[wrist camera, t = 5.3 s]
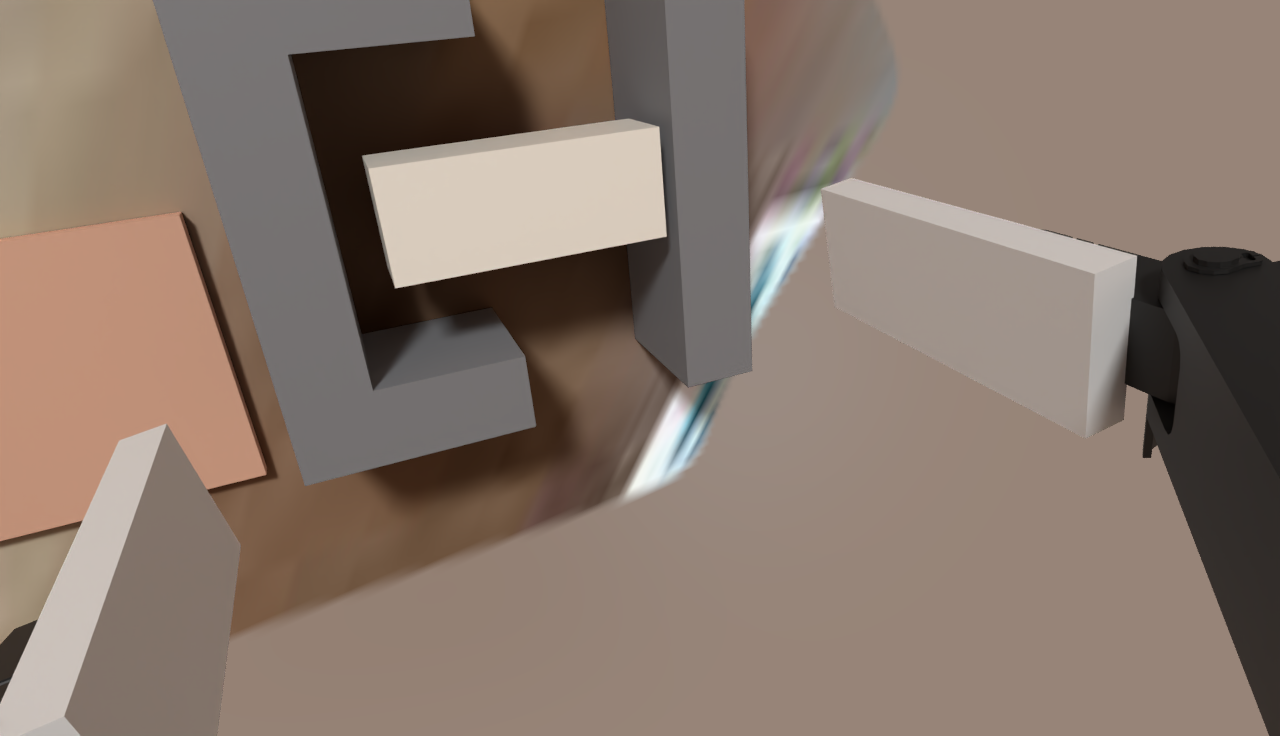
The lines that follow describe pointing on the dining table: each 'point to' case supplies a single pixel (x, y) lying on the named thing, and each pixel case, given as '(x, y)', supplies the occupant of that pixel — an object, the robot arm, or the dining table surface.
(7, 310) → the terracotta mat
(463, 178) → the cream bar
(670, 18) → the pocket plate
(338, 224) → the dining table surface
